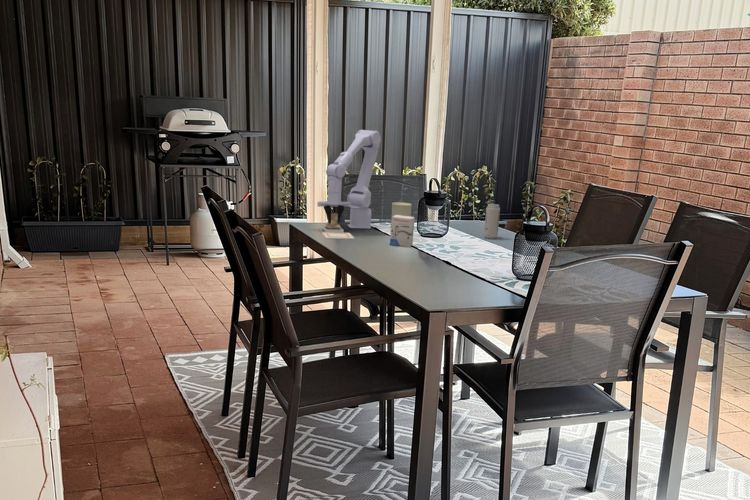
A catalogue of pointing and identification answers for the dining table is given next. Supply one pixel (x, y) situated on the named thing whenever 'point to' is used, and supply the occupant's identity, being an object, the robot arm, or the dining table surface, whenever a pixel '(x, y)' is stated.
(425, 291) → the dining table surface
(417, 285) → the dining table surface
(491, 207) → the energy drink can
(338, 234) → the mat
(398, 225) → the ink box
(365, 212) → the robot arm
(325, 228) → the ink pad
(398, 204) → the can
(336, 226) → the stamp
